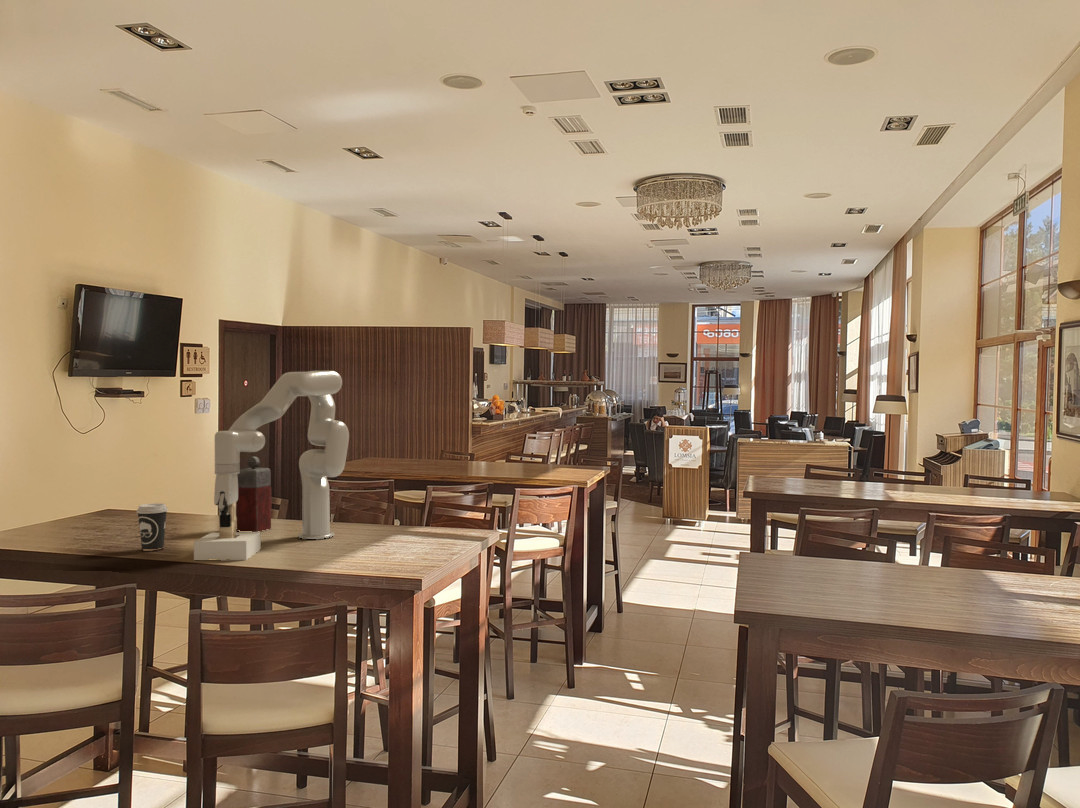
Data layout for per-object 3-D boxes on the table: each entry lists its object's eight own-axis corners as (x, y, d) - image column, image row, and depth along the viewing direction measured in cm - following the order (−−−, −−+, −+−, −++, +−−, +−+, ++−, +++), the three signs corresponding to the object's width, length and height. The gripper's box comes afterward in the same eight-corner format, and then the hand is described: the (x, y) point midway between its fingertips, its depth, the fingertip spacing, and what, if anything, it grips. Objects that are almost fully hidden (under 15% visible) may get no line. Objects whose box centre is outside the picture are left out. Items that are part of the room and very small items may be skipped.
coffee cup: (169, 550, 262) (169, 505, 261) (137, 554, 257) (136, 508, 257) (167, 545, 270) (166, 502, 270) (136, 548, 265) (135, 504, 265)
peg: (223, 542, 256) (223, 496, 256) (235, 541, 256) (235, 495, 256) (219, 544, 252) (219, 497, 252) (232, 544, 252) (231, 497, 252)
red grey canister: (275, 527, 304) (274, 455, 304) (256, 532, 294) (256, 457, 293) (255, 526, 307) (254, 454, 306) (236, 531, 296) (235, 457, 295)
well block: (211, 550, 262) (211, 532, 262) (260, 549, 263) (260, 531, 263) (193, 561, 246) (193, 541, 246) (246, 559, 247) (246, 540, 247)
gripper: (223, 466, 262) (223, 521, 262) (206, 471, 245) (206, 530, 246) (246, 466, 263) (247, 521, 263) (231, 471, 246) (231, 530, 246)
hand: (227, 525), depth 254 cm, fingers closed on peg, 4 cm apart
